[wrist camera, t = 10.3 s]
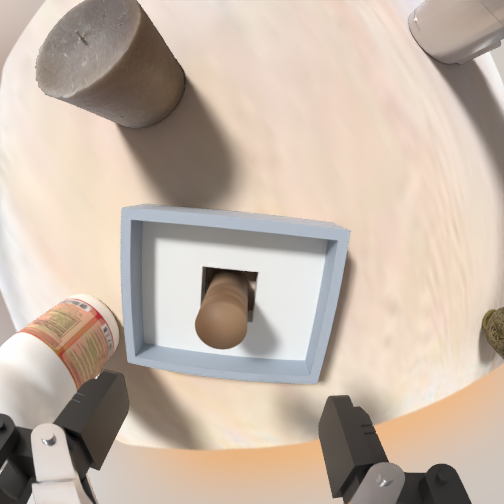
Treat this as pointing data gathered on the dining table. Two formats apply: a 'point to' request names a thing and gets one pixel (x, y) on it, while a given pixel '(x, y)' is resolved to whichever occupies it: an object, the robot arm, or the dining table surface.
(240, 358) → the box
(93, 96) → the pillar candle
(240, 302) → the peg
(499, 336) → the mottled brown rounded lump
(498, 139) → the dining table surface
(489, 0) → the robot arm
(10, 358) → the fruit juice
